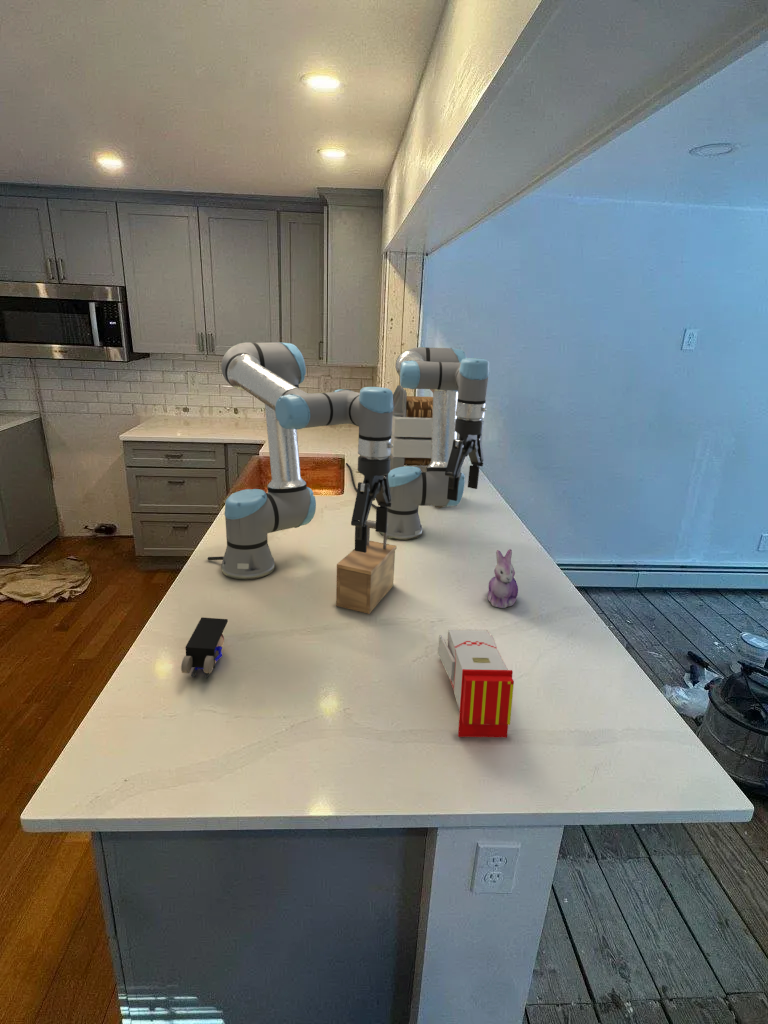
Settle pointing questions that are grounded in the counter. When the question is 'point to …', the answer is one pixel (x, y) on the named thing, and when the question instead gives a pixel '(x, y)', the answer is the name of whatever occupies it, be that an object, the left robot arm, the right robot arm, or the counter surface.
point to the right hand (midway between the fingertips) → (462, 493)
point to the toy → (478, 682)
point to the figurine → (503, 582)
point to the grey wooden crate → (411, 430)
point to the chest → (364, 586)
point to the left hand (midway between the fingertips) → (371, 541)
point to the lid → (368, 554)
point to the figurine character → (204, 646)
